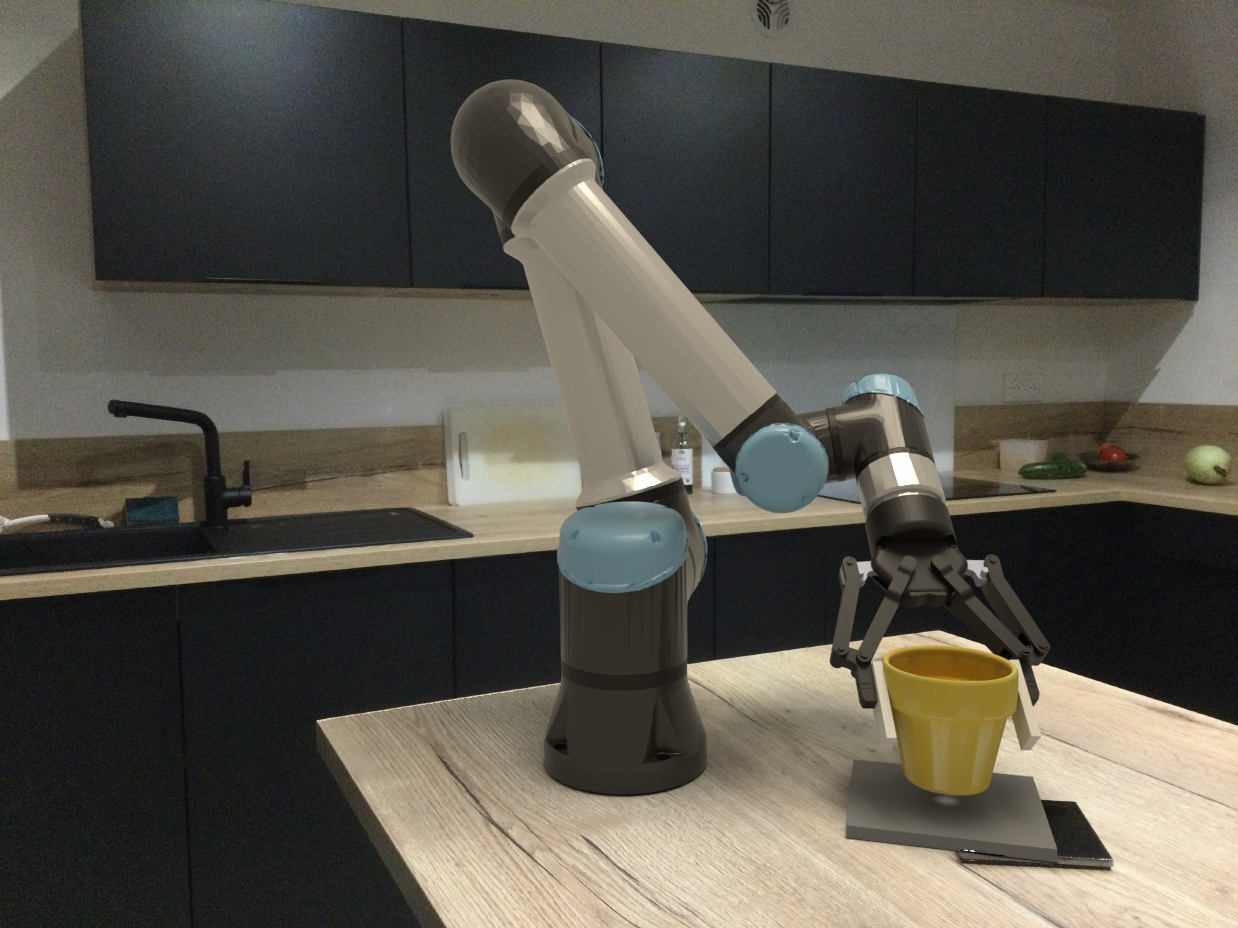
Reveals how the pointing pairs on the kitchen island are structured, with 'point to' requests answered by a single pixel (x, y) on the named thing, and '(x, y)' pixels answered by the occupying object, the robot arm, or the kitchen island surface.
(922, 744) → the plant pot
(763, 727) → the kitchen island surface
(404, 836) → the kitchen island surface
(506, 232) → the robot arm
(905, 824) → the trivet mat
